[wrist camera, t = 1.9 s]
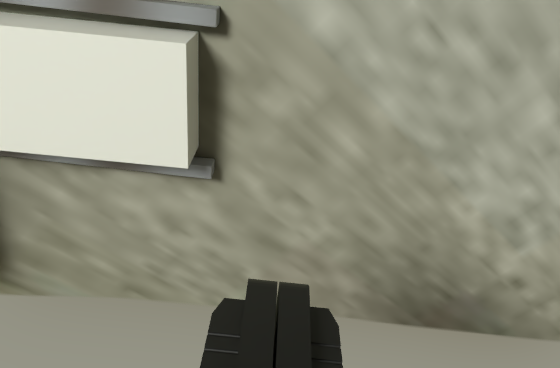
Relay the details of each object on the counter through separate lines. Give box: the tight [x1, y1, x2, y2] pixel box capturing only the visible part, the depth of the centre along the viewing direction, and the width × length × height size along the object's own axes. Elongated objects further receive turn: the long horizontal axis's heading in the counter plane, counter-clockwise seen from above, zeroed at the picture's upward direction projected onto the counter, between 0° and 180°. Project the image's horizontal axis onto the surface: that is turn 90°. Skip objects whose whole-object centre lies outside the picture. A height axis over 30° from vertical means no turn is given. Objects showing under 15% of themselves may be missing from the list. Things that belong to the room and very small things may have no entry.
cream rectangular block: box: [0, 12, 199, 169], centre depth 23 cm, size 12×6×3 cm, turn 85°
